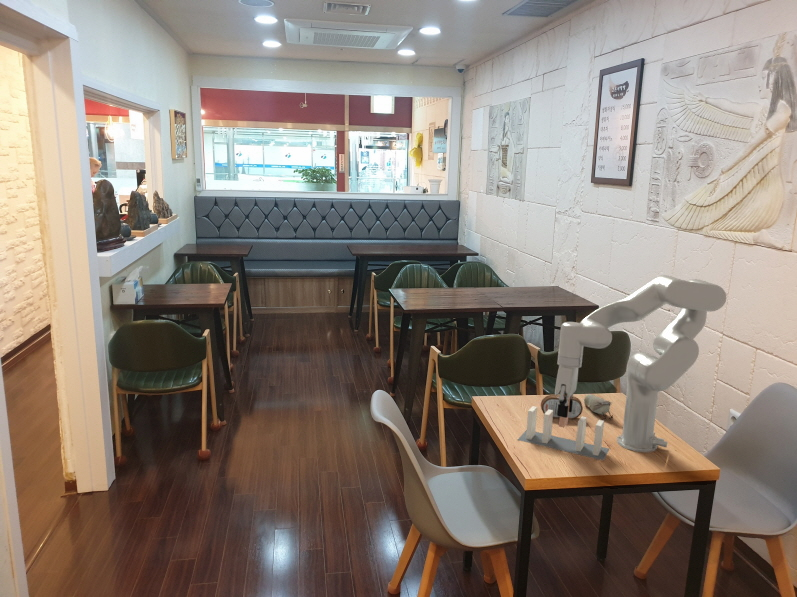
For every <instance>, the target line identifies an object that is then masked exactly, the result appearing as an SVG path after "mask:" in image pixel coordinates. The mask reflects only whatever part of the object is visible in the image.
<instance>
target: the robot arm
mask: <svg viewBox="0 0 797 597" xmlns="http://www.w3.org/2000/svg"><path fill="white" fill-rule="evenodd" d="M726 301H727V293H726V291H725V289H724V288H722V287H721V286H720V285H718V284H715V283H712V282H708V281H704V280H702V279H697V278H691V279H689V280H684V279H681V278H677V277H673V276H671V275H665V274H664V275H663V274H662V275H659V276H656V277H654V278H653V279H651V280H650V281H648V282H647V283H646V284H644V285H642V286H641V287H640V288H638V289H637V290H636V291H634V292H632V293H631V294H629V295H628V296H626V297H625V298H623V299H620V300H617V301H614V302H611V303H610V304H607V305H605V306H604V305H603V306H602V307H599V308H597V309H596V310H594V311H592V312H591V313H590V314H589V315H587V316H586V317H585V318H583V319H582V320H581V321H580V322H575V321H566V322H563V323H562V324H561V325H560V331H559V332H560V333H559V343H558V355H557V363H556V364H557V365H558V370H557V375H556V382H555V388H554V395H560V396H559V402H558V411H557V416H560V417H565V418H567V416H568V406H567V405H568V399H569V397H570V404H569V412H572V404H573V401H572V400H573V396H574V393H575V392H576V390H577V388H578V387H577V386H578V377H579V368H582V363H583V355H584V347H587V348H592V349H605V348H607V347H608V346H609V345H611V343H612V340H613V334H612V331H611V330H610V329H609V328H610V327H612V326H615V325H617V324H622V323H634V322H638V321H639V322H640V321H642V320H644V319H645V318H646V317H647V318H648V316H650V315H651V314H653V313H655V311H657V310H658V309H661V308H662V307H663V306H665V305H668V306H672V307H674V308H675V307H676V308H680V309H679V311H678V313H677V314H676V316H675V317H674V319H672V320H671V321H670V322H669V323H668V324H667V326H666V327H664V328H663V330H661V331H660V332H659V334H657V335H656V337H655V338H654V339H653V341H652V347H653V350H654V351H655V352H656V353H657V355H659V357H656V356H655V355H653V354H651V353H649V352H644V351H639V352H635V353H634V354H632V355H631V356H630V357H629V359H628V360H627V364H626V383H627V384H626V385H627V386H626V396H625V404H624V405H625V406H624V416H623V417H624V418H623V428H622V434H620V435H618V436H617V437H616V443H617V444H618V445H619V446H620V447H621V448H624V449H626V450H629V451H633V452H638V453H652V452H655V451H656V450H657V449H658V446H660V447H661V448H662V447H663V448H665V449H666V448H668V441H666V440H665V438H661V437H658V436H656V432H655V431H654V430H655V425H656V424H655V423H656V417H657V416H656V415H657V406H658V399H659V393H658V392H663V391H666V390H668V389H669V388H670V387H672V386H673V385H674V384H675V383H676V382H678V381H679V380H680V379H681V377H683V376H684V374H686V372H687V371H688V370H689V369H690V368H691V367H692V366H693V365H694V364H695V363H696V361H697V360H698V358H699V355H700V354H699V353H700V347H699V345H698V343H697V341H695V338H696V337H697V336H698V335H699V334H700V333H701V332H702V330H703V329H704V327H705V325H706V322H707V318H708V317H707V314H708V312H709V313H710V312H715V311H719V310H720V309H721V308H723V307H724V306H725V304H726ZM565 394H567V396H564V395H565ZM564 398H566V400H565V399H564Z"/></svg>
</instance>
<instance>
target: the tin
mask: <svg viewBox="0 0 797 597" xmlns="http://www.w3.org/2000/svg"><path fill="white" fill-rule="evenodd" d="M559 396H560V394H558V395H555V394H549V395H546V396H545V397H544V398H542V399H541V402H540V409H541V411H542V413H543V415H544V414H545V413H546V412H547V411H548V409H549V410H553V419H560V416H557V411H558V402H559ZM572 401H573V404H572V412H569V415H568V420H575V419H577V418H579V417H580V416H581V415H582V413H583V403H582V401H581V400H580V399H579V398H578V397H576V396H574V395H573V400H572Z"/></svg>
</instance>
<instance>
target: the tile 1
mask: <svg viewBox="0 0 797 597" xmlns="http://www.w3.org/2000/svg"><path fill="white" fill-rule="evenodd" d="M537 414H538V406H533V405H532V406H531V407H530V408H529V409H528V410H527V422H526V430H527V433H526V439H530V440H531V439H532V438H533V437H534V435H535V432H536V429H537V428H536V426H537Z"/></svg>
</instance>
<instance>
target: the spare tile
mask: <svg viewBox="0 0 797 597" xmlns="http://www.w3.org/2000/svg"><path fill="white" fill-rule="evenodd" d="M564 396H567V394H565V395H564ZM564 399H565V400H566V398H564ZM569 404H570V397H569V399H568V405H567V406H568V415H569ZM568 423H569V419H568V416H567V418H565V417H560V418H559V422H558V427H560V428H565V427H566V426H567V425H568Z"/></svg>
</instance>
